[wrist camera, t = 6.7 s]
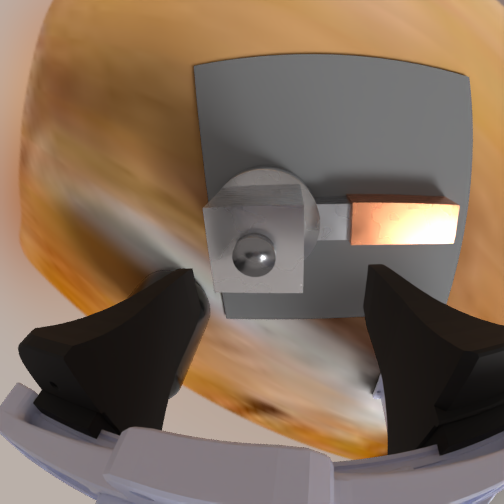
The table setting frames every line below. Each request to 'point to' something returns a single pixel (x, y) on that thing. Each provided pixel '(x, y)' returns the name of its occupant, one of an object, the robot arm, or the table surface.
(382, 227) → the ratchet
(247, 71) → the mat
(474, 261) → the table surface
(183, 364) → the supplement bottle
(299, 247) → the socket
